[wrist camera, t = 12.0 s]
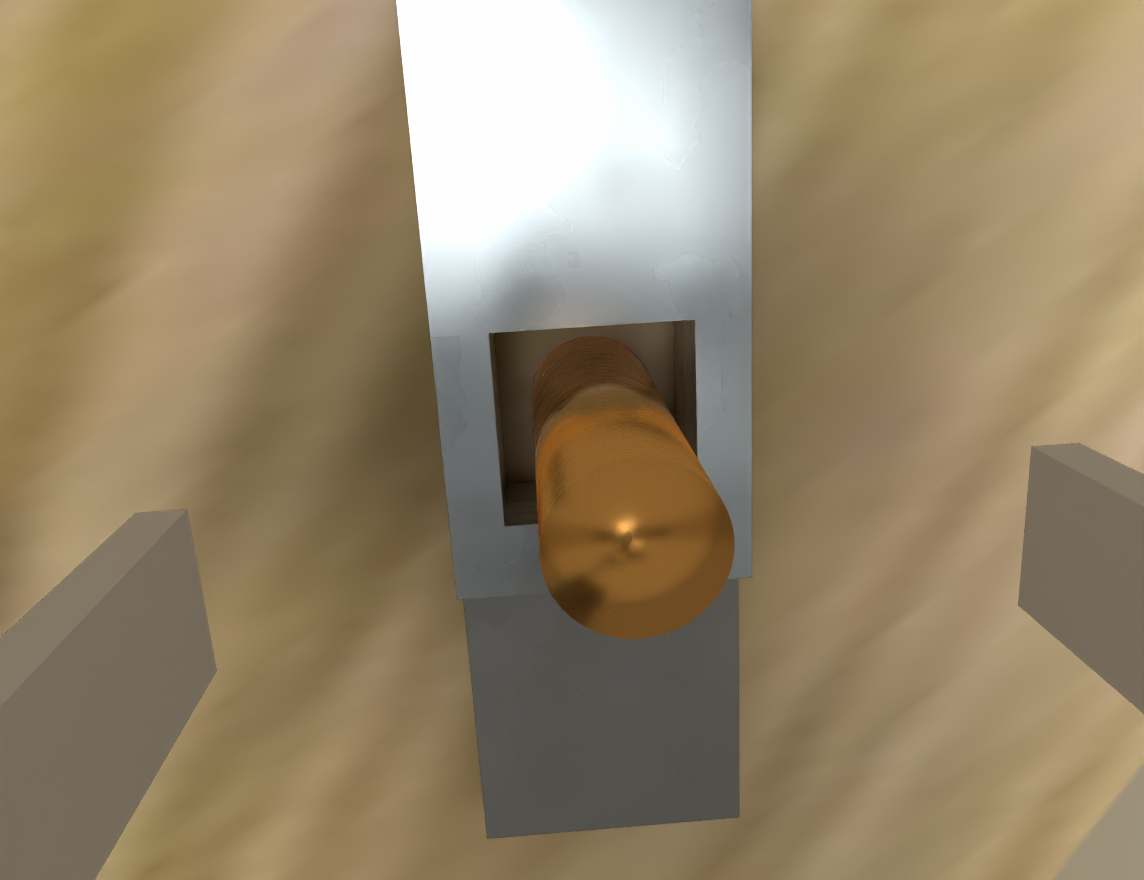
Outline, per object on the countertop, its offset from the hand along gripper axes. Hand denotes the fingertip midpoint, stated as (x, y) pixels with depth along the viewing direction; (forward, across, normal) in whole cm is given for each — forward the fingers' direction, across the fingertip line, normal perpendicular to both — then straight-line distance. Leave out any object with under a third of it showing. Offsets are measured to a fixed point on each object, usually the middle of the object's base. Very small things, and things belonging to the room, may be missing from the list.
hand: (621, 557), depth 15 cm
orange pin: (+10, 0, 0) cm, 10 cm away
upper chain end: (+10, 0, -3) cm, 10 cm away
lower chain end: (+10, 0, +4) cm, 10 cm away
